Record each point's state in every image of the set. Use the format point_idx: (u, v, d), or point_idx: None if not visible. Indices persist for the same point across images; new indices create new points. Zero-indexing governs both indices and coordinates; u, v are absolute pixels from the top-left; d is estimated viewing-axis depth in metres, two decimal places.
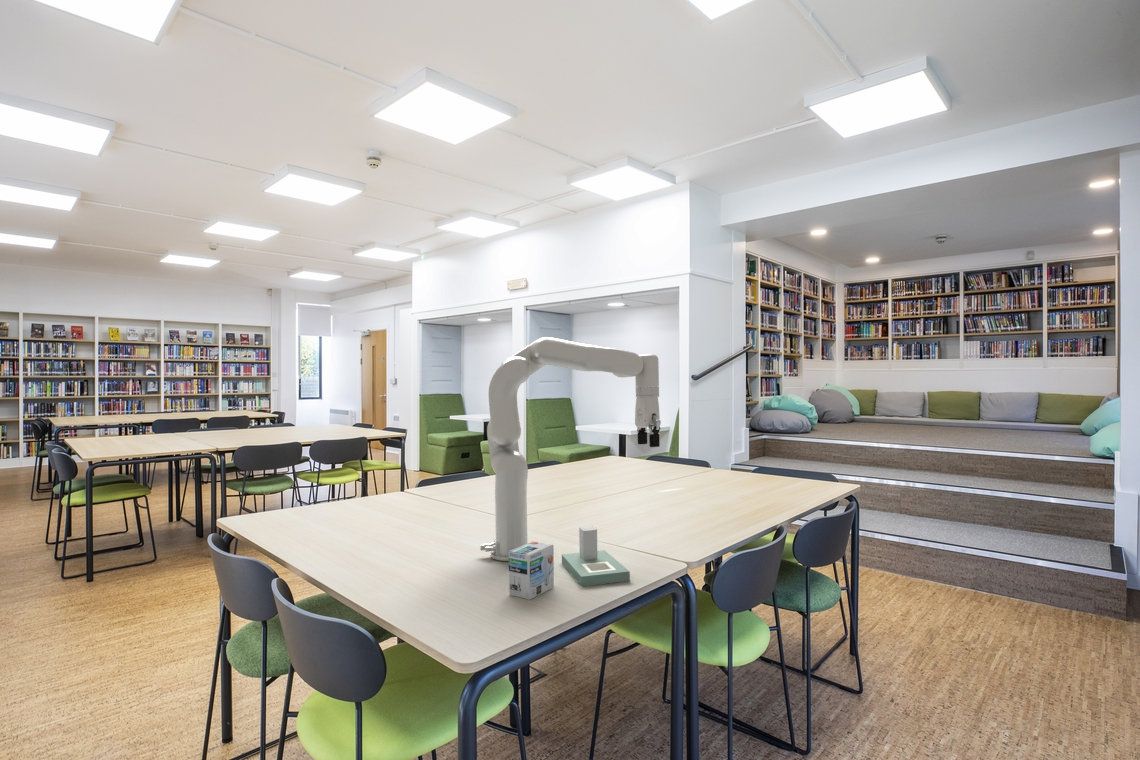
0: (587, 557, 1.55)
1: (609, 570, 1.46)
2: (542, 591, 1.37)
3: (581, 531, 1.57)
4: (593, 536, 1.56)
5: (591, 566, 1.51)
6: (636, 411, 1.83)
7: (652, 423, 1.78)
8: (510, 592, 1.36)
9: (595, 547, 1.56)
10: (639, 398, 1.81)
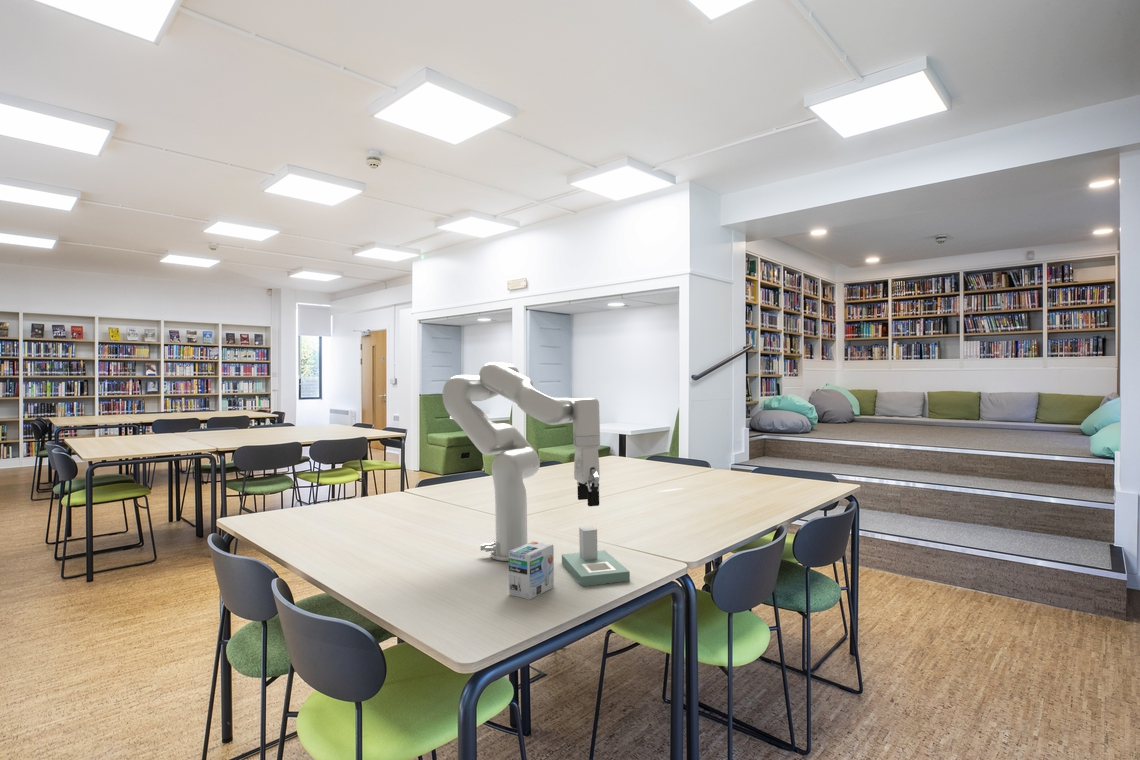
0: (587, 557, 1.55)
1: (609, 570, 1.46)
2: (542, 591, 1.37)
3: (581, 531, 1.57)
4: (593, 536, 1.56)
5: (591, 566, 1.51)
6: (575, 462, 1.60)
7: (591, 478, 1.55)
8: (510, 592, 1.36)
9: (595, 547, 1.56)
10: (577, 448, 1.58)
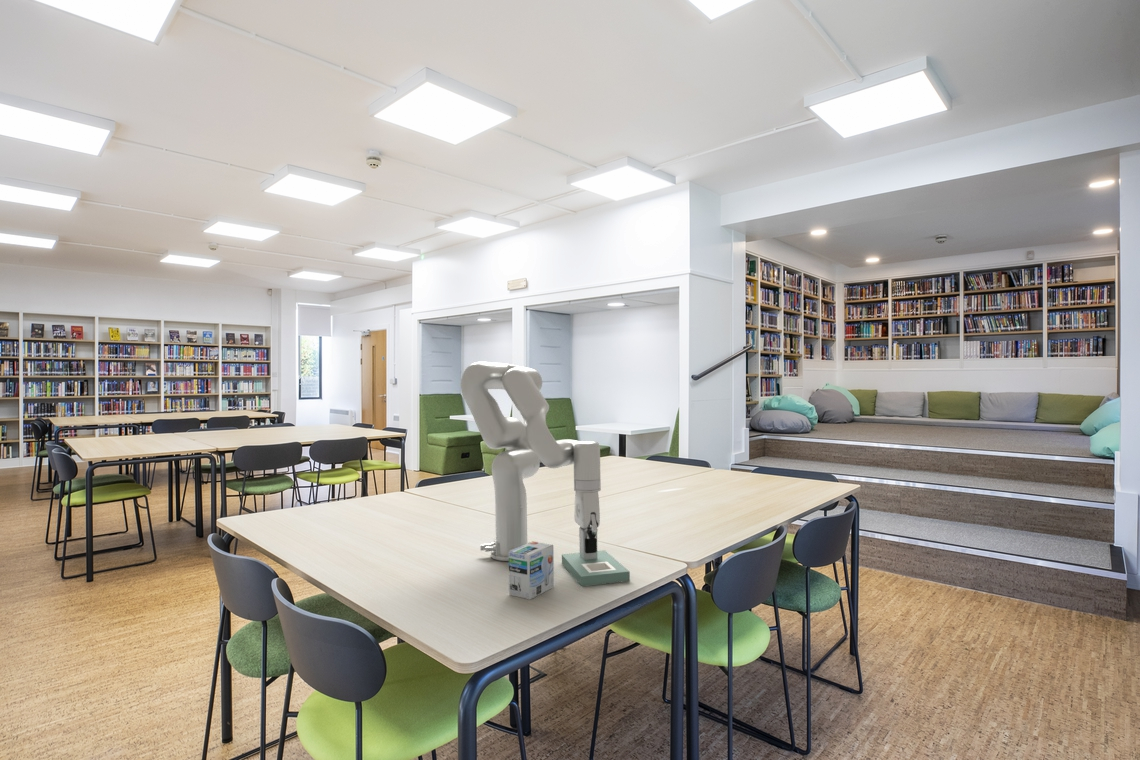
0: (587, 556, 1.55)
1: (609, 570, 1.46)
2: (542, 591, 1.37)
3: (581, 531, 1.57)
4: None
5: (591, 566, 1.51)
6: (575, 505, 1.60)
7: (590, 523, 1.55)
8: (510, 592, 1.36)
9: None
10: (577, 491, 1.58)
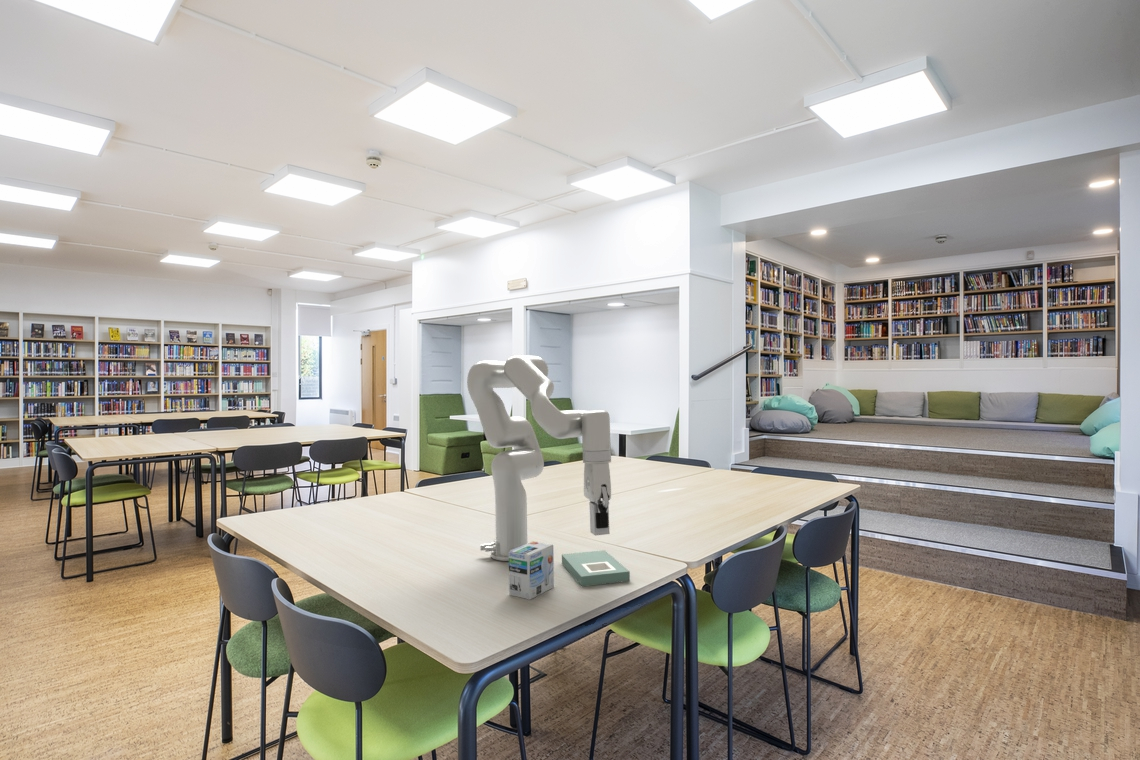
0: (599, 532, 1.46)
1: (609, 570, 1.46)
2: (542, 591, 1.37)
3: (592, 505, 1.48)
4: None
5: (591, 566, 1.51)
6: (584, 479, 1.51)
7: (601, 496, 1.47)
8: (510, 592, 1.36)
9: None
10: (586, 464, 1.49)
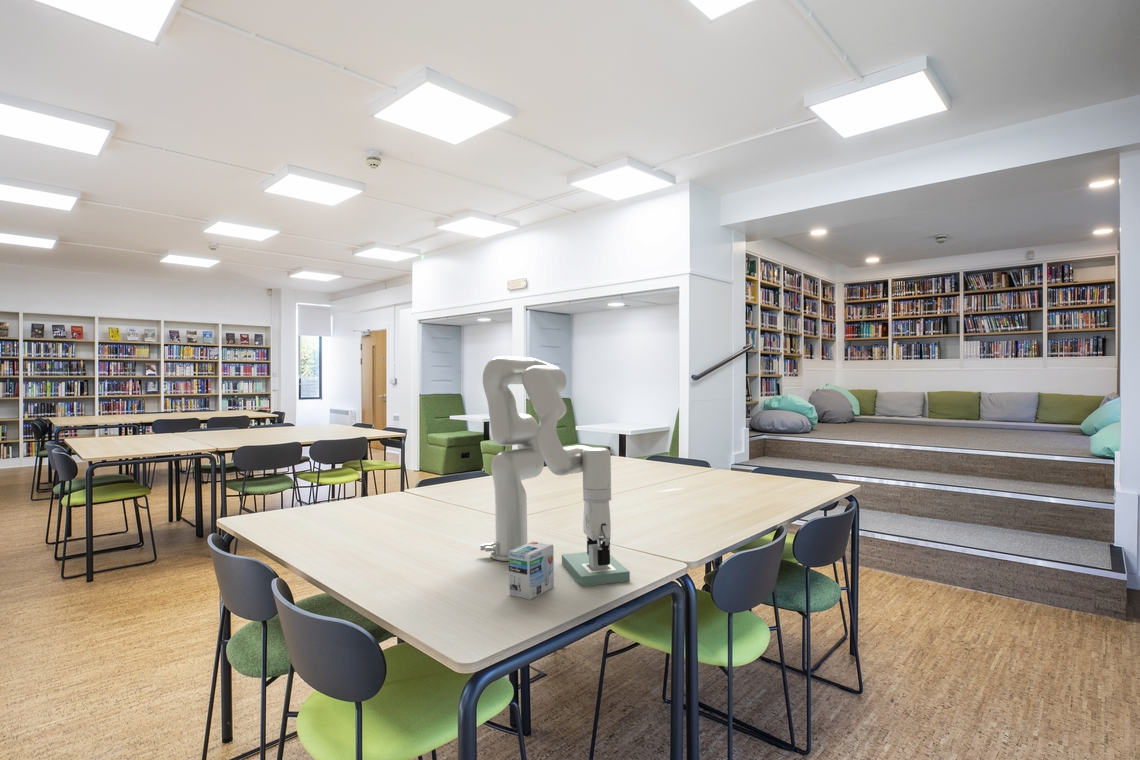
0: None
1: (609, 570, 1.46)
2: (542, 591, 1.37)
3: (591, 549, 1.48)
4: None
5: None
6: (584, 515, 1.51)
7: (602, 534, 1.46)
8: (510, 592, 1.36)
9: (605, 566, 1.47)
10: (586, 501, 1.49)
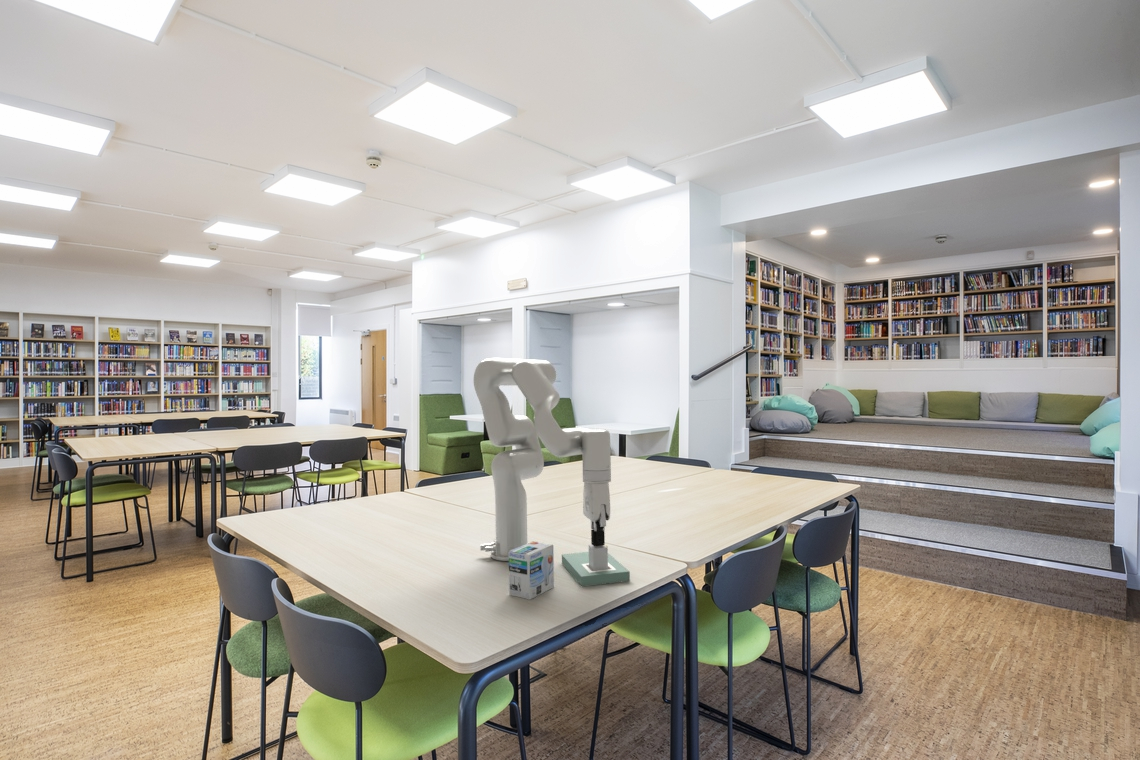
0: None
1: (609, 570, 1.46)
2: (542, 591, 1.37)
3: (591, 549, 1.48)
4: (603, 555, 1.47)
5: None
6: (584, 497, 1.51)
7: None
8: (510, 592, 1.36)
9: (605, 566, 1.47)
10: (586, 483, 1.49)
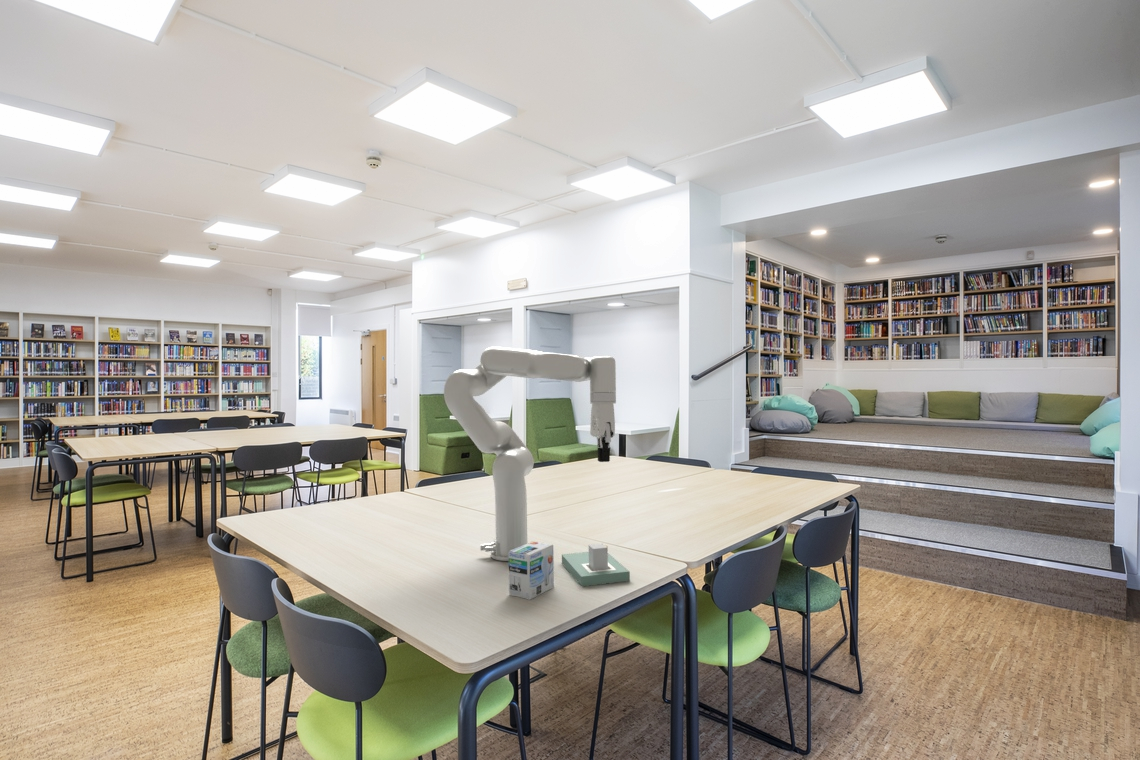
0: None
1: (609, 570, 1.46)
2: (542, 591, 1.37)
3: (591, 549, 1.48)
4: (603, 555, 1.47)
5: None
6: (591, 419, 1.66)
7: None
8: (510, 592, 1.36)
9: (605, 566, 1.47)
10: (593, 405, 1.64)
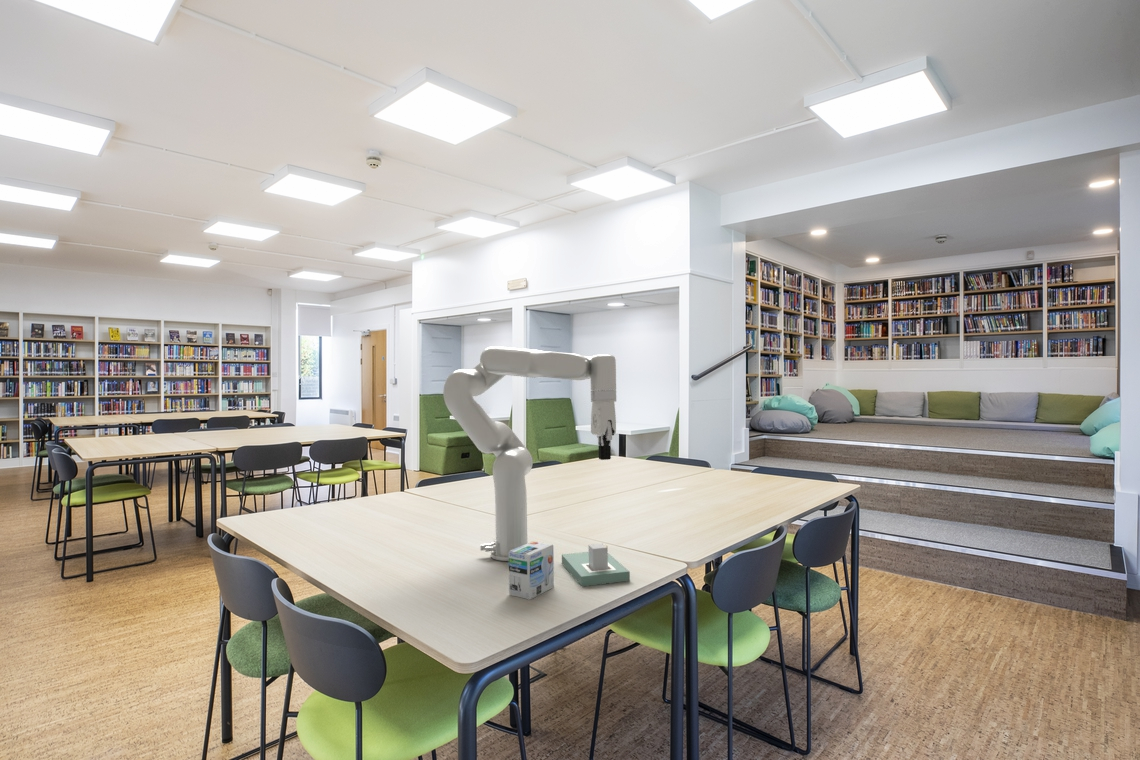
0: None
1: (609, 570, 1.46)
2: (542, 591, 1.37)
3: (591, 549, 1.48)
4: (603, 555, 1.47)
5: None
6: (592, 417, 1.67)
7: None
8: (510, 592, 1.36)
9: (605, 566, 1.47)
10: (594, 403, 1.65)
